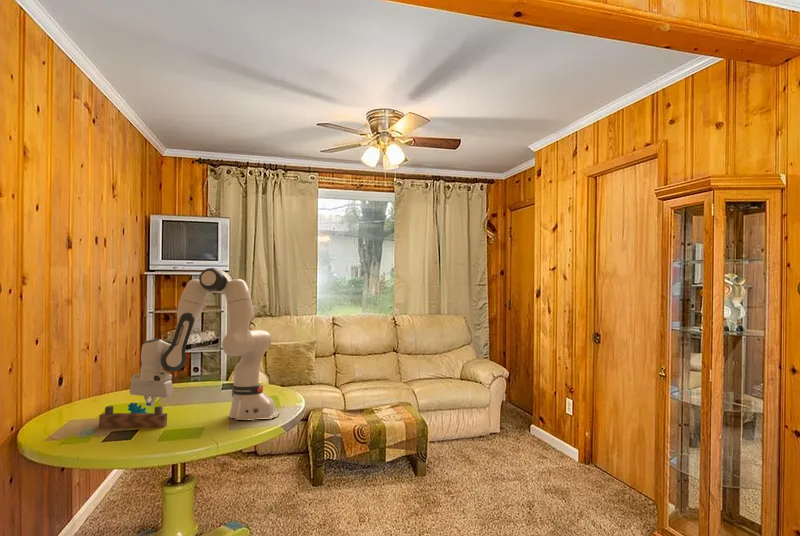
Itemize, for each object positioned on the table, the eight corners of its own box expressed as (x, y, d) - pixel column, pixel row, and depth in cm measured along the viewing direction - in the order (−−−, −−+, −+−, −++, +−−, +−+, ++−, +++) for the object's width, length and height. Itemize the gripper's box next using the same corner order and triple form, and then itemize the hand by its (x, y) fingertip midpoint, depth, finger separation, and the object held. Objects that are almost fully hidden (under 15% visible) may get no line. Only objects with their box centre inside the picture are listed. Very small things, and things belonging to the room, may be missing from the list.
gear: (140, 420, 197) (126, 402, 199) (129, 430, 197) (115, 412, 198) (154, 416, 208) (140, 399, 210) (144, 425, 208) (130, 409, 209)
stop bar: (166, 425, 197) (167, 406, 197) (163, 427, 194) (164, 408, 194) (103, 425, 195) (103, 406, 195) (98, 427, 192) (99, 408, 192)
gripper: (126, 374, 209) (125, 405, 208) (165, 378, 204) (164, 409, 204) (137, 372, 215) (136, 402, 215) (175, 375, 210) (174, 405, 210)
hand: (150, 405), depth 209 cm, fingers closed
